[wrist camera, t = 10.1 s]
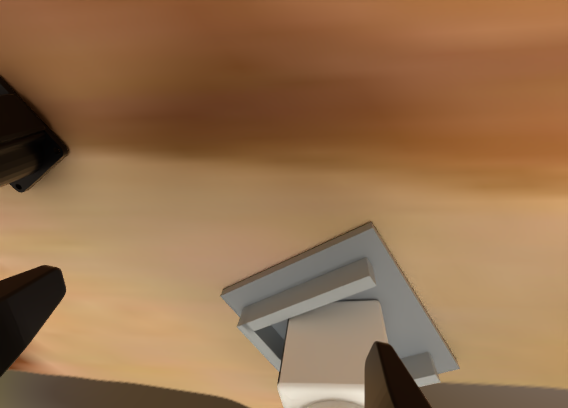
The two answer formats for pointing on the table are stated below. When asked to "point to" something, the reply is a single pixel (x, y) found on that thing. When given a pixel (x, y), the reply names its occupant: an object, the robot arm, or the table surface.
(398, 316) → the bottle holder
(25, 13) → the table surface
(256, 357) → the table surface
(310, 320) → the medicine bottle
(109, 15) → the table surface
